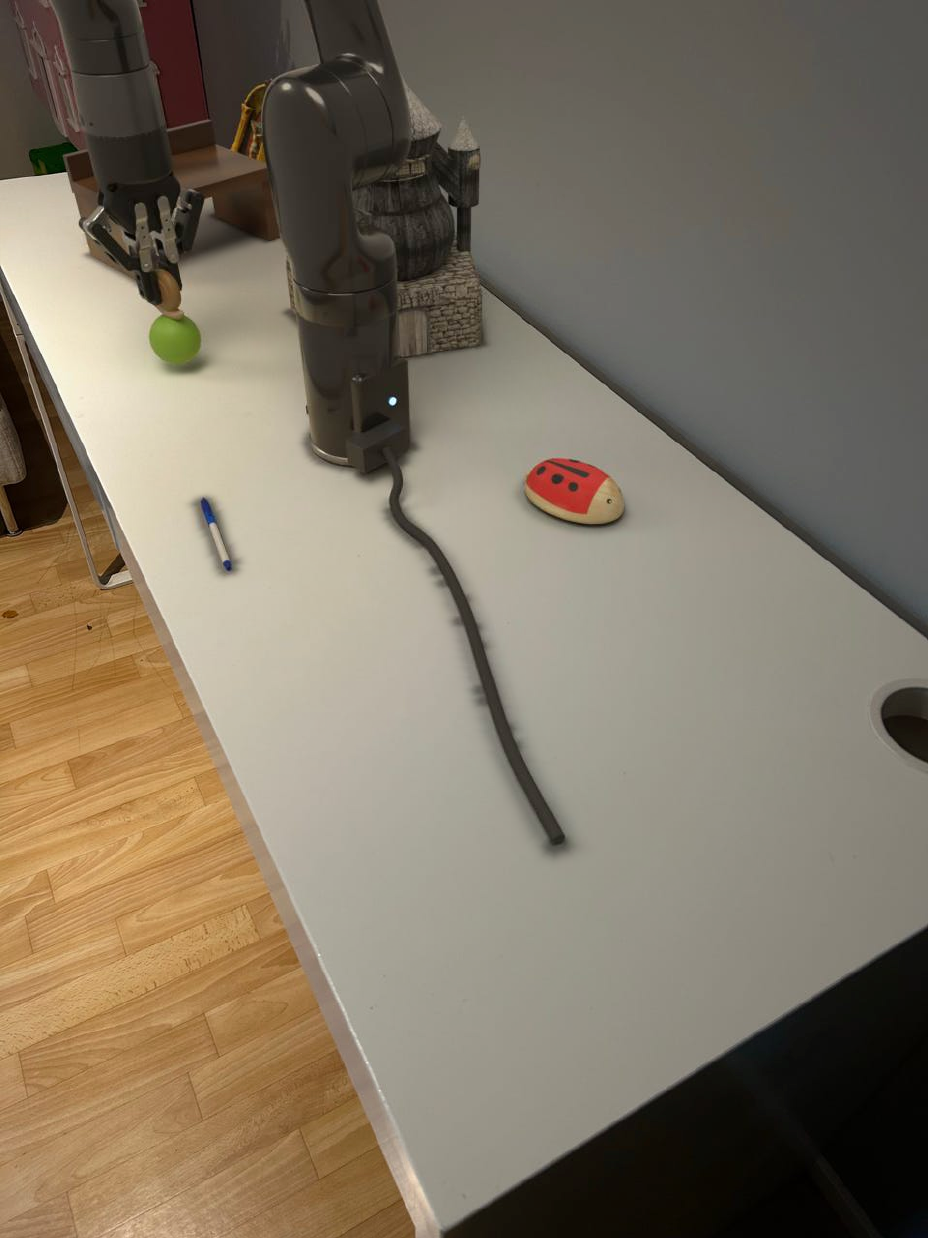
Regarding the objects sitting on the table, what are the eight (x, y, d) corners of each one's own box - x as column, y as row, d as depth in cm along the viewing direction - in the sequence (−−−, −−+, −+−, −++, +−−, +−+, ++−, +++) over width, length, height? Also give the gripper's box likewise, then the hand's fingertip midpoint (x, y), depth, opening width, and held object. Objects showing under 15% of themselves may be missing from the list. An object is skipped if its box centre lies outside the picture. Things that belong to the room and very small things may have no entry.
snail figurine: (178, 342, 107) (155, 236, 99) (215, 359, 104) (194, 251, 96) (139, 360, 104) (112, 252, 96) (176, 378, 101) (151, 268, 93)
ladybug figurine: (606, 539, 82) (611, 506, 80) (507, 505, 86) (509, 473, 83) (635, 500, 87) (640, 468, 84) (539, 469, 90) (542, 438, 88)
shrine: (283, 176, 150) (270, 70, 140) (294, 193, 144) (282, 84, 134) (210, 184, 147) (192, 76, 137) (219, 201, 141) (201, 91, 131)
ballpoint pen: (198, 505, 86) (196, 496, 85) (207, 502, 86) (205, 493, 85) (226, 573, 79) (224, 563, 78) (236, 570, 79) (234, 561, 79)
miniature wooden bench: (281, 238, 131) (269, 141, 123) (145, 284, 120) (121, 181, 111) (223, 211, 138) (207, 118, 130) (88, 253, 127) (62, 154, 118)
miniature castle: (317, 370, 104) (283, 64, 83) (289, 308, 115) (254, 25, 95) (507, 342, 109) (519, 48, 89) (463, 285, 120) (465, 12, 100)
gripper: (76, 145, 82) (125, 332, 94) (207, 113, 89) (237, 290, 101) (34, 127, 86) (86, 309, 97) (163, 98, 93) (197, 270, 105)
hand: (163, 298), depth 99 cm, fingers closed on snail figurine
